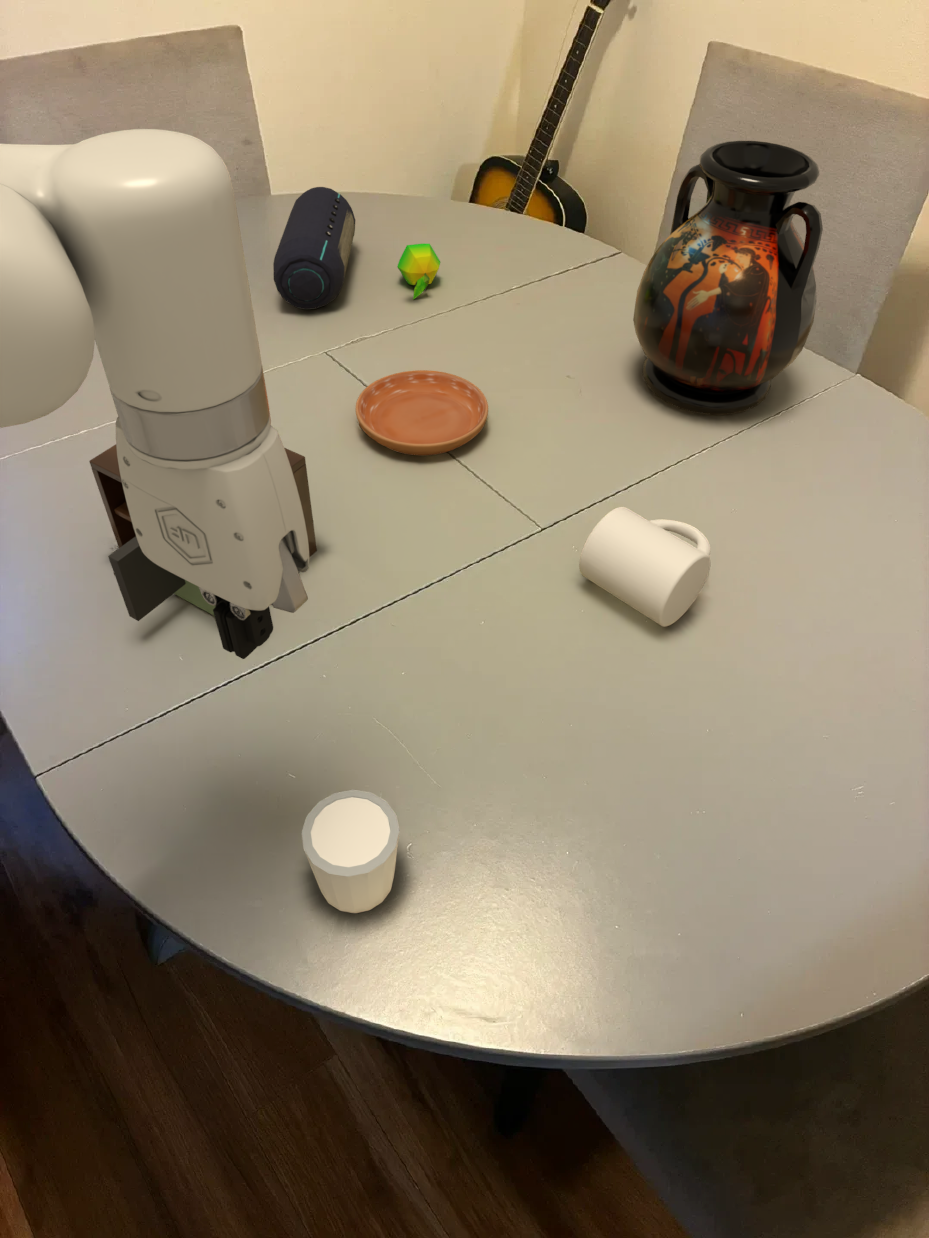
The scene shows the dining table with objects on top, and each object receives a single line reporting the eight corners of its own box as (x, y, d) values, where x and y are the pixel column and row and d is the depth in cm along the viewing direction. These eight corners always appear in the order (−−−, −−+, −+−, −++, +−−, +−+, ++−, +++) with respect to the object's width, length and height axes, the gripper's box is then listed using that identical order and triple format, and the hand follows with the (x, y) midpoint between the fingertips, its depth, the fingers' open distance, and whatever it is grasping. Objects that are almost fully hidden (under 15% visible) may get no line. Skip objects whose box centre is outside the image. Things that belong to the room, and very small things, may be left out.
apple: (410, 225, 131) (428, 249, 125) (441, 249, 135) (459, 274, 130) (381, 264, 134) (397, 290, 128) (412, 286, 138) (429, 313, 132)
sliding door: (203, 675, 80) (177, 587, 72) (125, 630, 84) (92, 540, 76) (254, 630, 84) (235, 541, 76) (178, 588, 88) (152, 499, 80)
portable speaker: (343, 320, 126) (338, 250, 119) (273, 318, 126) (263, 248, 119) (359, 244, 143) (355, 179, 136) (298, 242, 143) (290, 177, 136)
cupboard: (237, 619, 85) (215, 524, 77) (121, 556, 91) (88, 460, 82) (317, 550, 92) (305, 456, 84) (204, 495, 98) (182, 402, 89)
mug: (654, 641, 85) (670, 581, 79) (573, 589, 89) (583, 529, 84) (723, 581, 91) (742, 521, 85) (644, 535, 96) (658, 475, 90)
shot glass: (379, 934, 64) (375, 889, 59) (294, 902, 66) (283, 855, 61) (415, 854, 69) (414, 806, 64) (335, 825, 70) (328, 776, 65)
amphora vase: (588, 377, 117) (620, 151, 97) (691, 328, 127) (740, 113, 107) (718, 453, 106) (785, 215, 86) (820, 392, 116) (902, 166, 96)
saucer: (423, 482, 101) (423, 461, 99) (329, 425, 108) (327, 404, 106) (514, 425, 109) (515, 404, 107) (421, 376, 116) (421, 355, 114)
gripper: (35, 393, 46) (126, 632, 59) (258, 491, 41) (302, 728, 54) (141, 332, 51) (203, 567, 64) (354, 413, 45) (373, 650, 59)
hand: (249, 640), depth 59 cm, fingers closed
